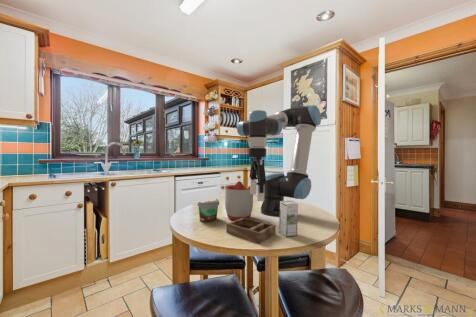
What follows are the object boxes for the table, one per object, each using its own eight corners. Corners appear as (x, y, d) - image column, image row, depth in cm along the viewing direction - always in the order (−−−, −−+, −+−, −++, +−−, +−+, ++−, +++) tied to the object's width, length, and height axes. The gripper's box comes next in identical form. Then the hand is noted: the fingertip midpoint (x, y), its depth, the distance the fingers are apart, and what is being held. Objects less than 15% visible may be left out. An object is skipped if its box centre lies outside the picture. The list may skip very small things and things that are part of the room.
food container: (203, 224, 107) (204, 204, 107) (197, 221, 112) (197, 202, 111) (223, 219, 115) (224, 200, 115) (217, 216, 120) (217, 198, 119)
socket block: (243, 225, 107) (243, 217, 106) (275, 234, 96) (275, 225, 96) (226, 232, 97) (226, 223, 97) (259, 243, 86) (259, 233, 86)
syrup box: (289, 231, 100) (290, 199, 99) (297, 236, 94) (298, 202, 94) (278, 232, 98) (279, 200, 97) (286, 237, 92) (286, 203, 92)
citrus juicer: (259, 215, 123) (260, 180, 122) (244, 224, 108) (245, 184, 107) (235, 211, 131) (236, 178, 130) (218, 219, 116) (219, 181, 115)
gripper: (243, 147, 105) (243, 191, 106) (255, 147, 80) (254, 204, 81) (259, 147, 106) (258, 191, 107) (274, 147, 81) (274, 204, 82)
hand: (256, 197), depth 94 cm, fingers open, 13 cm apart
